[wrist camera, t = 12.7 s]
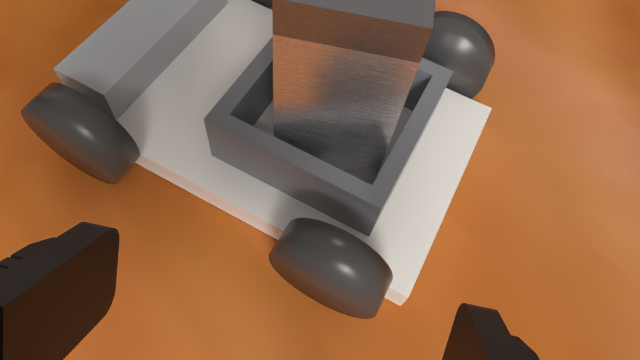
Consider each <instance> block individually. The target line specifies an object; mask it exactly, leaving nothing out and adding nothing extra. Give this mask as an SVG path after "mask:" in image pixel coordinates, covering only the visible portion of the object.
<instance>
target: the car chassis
mask: <svg viewBox="0 0 640 360" xmlns="http://www.w3.org/2000/svg"><path fill="white" fill-rule="evenodd" d="M271 7H272V0H130V1H128V2H127V3H126V4H125V5H124V6H123V7H122V8H121V9H119V10H118V11H117V12H116V13H115V14H114V15H113V16H112V17H110V18H109V19H108V20H107V21H106V22H105V23H104V24H103V25H101V26H100V27H99V28H98V29H97V30H96V31H95V32H94V33H92V34H91V35H90V36H89V37H88V38H87V39H86V40H85V41H83V42H82V43H81V44H80V45H79V46H78V47H77V48H76V49H74V50H73V51H72V52H71V53H70V54H69V55H68V56H67V57H65V58H64V59H63V60H62V61H61V62H60V63H59V64H58V65H56V66H55V67H54V68H53V69H54V71H55V73H56V74H57V76H58V78H59V79H60V81H61V83H62V84H60V83H51V84H49V85H48V86H47V87H46V88H45V89H44V90H42V91H41V92H40V93H39V94H38V95H37V96H36V97H35V98H34V99H33V100H31V101H30V102H29V103H28V104H27V105H26V106H25V107H24V108H23V109H22V110H21V114H22V116H23V118H24V120H25V121H26V123H27V124H28V125H29V127H30V128H31V129H32V130H33V131H34V132H35V133H36V134H37V135H38V136H39V137H40V138H41V139H42V140H43V141H44V142H45V143H46V144H47V145H48V146H49V147H50V148H52V149H53V150H54V151H55V152H56V153H58V154H59V155H60V156H62V157H63V158H64V159H66V160H67V161H68V162H70V163H71V164H73V165H74V166H75V167H77V168H78V169H80V170H82V171H83V172H85V173H87V174H88V175H90V176H92V177H94V178H96V179H98V180H100V181H103V182H106V183H109V184H116V183H117V182H118V181H119V180H120V179H121V178H122V177H123V175H124V174H125V173H126V172H127V171H128V170H129V169H130V167H131V166H132V165H133V164H134V163H136V164H138V165H140V166H142V167H143V168H145V169H147V170H149V171H151V172H153V173H155V174H156V175H158V176H160V177H162V178H164V179H166V180H168V181H169V182H171V183H173V184H175V185H177V186H179V187H180V188H182V189H184V190H186V191H188V192H190V193H192V194H193V195H195V196H197V197H199V198H201V199H203V200H205V201H206V202H208V203H210V204H212V205H214V206H216V207H218V208H219V209H221V210H223V211H225V212H227V213H229V214H230V215H232V216H234V217H236V218H238V219H240V220H242V221H243V222H245V223H247V224H249V225H251V226H253V227H255V228H256V229H258V230H260V231H262V232H264V233H266V234H268V235H269V236H271V237H273V238H275V239H277V240H278V241H277V243H276V244H275V246H274V247H273V249H272V251H271V252H270V254H269V261H270V263H271V264H272V266H273V267H274V269H275V270H276V271H277V272H278V273H279V274H280V275H281V276H282V277H283V278H284V279H285V280H286V281H287V282H288V283H290V284H291V285H292V286H294V287H295V288H296V289H298V290H299V291H301V292H302V293H304V294H305V295H307V296H308V297H310V298H312V299H313V300H315V301H317V302H319V303H321V304H322V305H324V306H326V307H329V308H331V309H333V310H335V311H338V312H340V313H343V314H346V315H349V316H352V317H357V318H363V319H369V318H373V317H375V316H376V314H377V312H378V310H379V307H380V305H381V303H382V301H383V299H384V298H386V299H388V300H390V301H392V302H394V303H395V304H397V305H399V306H401V305H402V304H403V303H404V302H405V301H406V300H407V299H408V297H409V295H410V293H411V290H412V288H413V286H414V284H415V281H416V279H417V277H418V275H419V272H420V270H421V268H422V266H423V263H424V261H425V259H426V256H427V254H428V252H429V250H430V247H431V245H432V243H433V241H434V238H435V236H436V234H437V231H438V229H439V227H440V225H441V222H442V220H443V218H444V216H445V213H446V211H447V209H448V207H449V204H450V202H451V200H452V197H453V195H454V193H455V191H456V188H457V186H458V184H459V182H460V179H461V177H462V175H463V173H464V170H465V168H466V166H467V163H468V161H469V159H470V157H471V154H472V152H473V150H474V148H475V145H476V143H477V141H478V138H479V136H480V134H481V132H482V129H483V127H484V125H485V123H486V120H487V118H488V116H489V114H490V111H491V109H492V108H490V107H488V106H485V105H483V104H481V103H479V102H476V101H474V100H472V99H471V98H473V97H474V96H475V95H477V94H478V93H479V92H480V90H481V89H482V87H483V85H484V83H485V81H486V79H487V77H488V74H489V72H490V70H491V68H492V66H493V63H494V60H495V49H494V45H493V42H492V40H491V38H490V36H489V34H488V33H487V32H486V30H485V29H484V28H483V27H482V26H481V25H480V24H478V23H477V22H476V21H474V20H473V19H471V18H469V17H467V16H465V15H462V14H459V13H455V12H449V11H438V12H434V22H433V30H432V32H431V35H430V38H429V40H428V43H427V45H426V48H425V51H424V53H423V56H422V59H421V61H420V64H419V67H418V69H417V72H416V75H415V77H414V80H413V82H412V85H411V88H410V90H409V93H408V96H407V98H406V101H405V104H404V106H403V109H402V111H401V114H400V117H399V119H398V122H397V125H396V127H395V130H394V133H393V135H392V138H391V140H390V143H389V146H388V148H387V151H386V154H385V156H384V159H383V162H382V164H381V167H380V169H379V172H378V175H377V177H376V179H375V181H374V183H373V184H371V183H366V182H364V181H362V180H360V179H358V178H356V177H354V176H352V175H350V174H348V173H346V172H344V171H342V170H340V169H338V168H336V167H334V166H332V165H330V164H328V163H326V162H324V161H322V160H320V159H318V158H316V157H314V156H312V155H310V154H308V153H306V152H304V151H302V150H300V149H298V148H296V147H294V146H292V145H290V144H288V143H286V142H284V141H282V140H280V139H278V138H276V137H274V119H273V21H272V10H271V9H270V8H271Z"/></svg>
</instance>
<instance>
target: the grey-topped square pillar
mask: <svg viewBox="0 0 640 360" xmlns="http://www.w3.org/2000/svg"><path fill="white" fill-rule="evenodd" d="M434 10H435V0H272V21H273V119H274V137H276V138H278V139H280V140H282V141H284V142H286V143H288V144H290V145H292V146H294V147H296V148H298V149H300V150H302V151H304V152H306V153H308V154H310V155H312V156H314V157H316V158H318V159H320V160H322V161H324V162H326V163H328V164H330V165H332V166H334V167H336V168H338V169H340V170H342V171H344V172H346V173H348V174H350V175H352V176H354V177H356V178H358V179H360V180H362V181H364V182H366V183H371V184H373V183H374V181H375V179H376V177H377V175H378V172H379V169H380V167H381V164H382V162H383V159H384V156H385V154H386V151H387V148H388V146H389V143H390V140H391V138H392V135H393V133H394V130H395V127H396V125H397V122H398V119H399V117H400V114H401V111H402V109H403V106H404V104H405V101H406V98H407V96H408V93H409V90H410V88H411V85H412V82H413V80H414V77H415V75H416V72H417V69H418V67H419V64H420V61H421V59H422V56H423V53H424V51H425V48H426V45H427V43H428V40H429V38H430V35H431V32H432V30H433V22H434Z"/></svg>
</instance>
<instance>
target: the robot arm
mask: <svg viewBox="0 0 640 360" xmlns="http://www.w3.org/2000/svg"><path fill="white" fill-rule="evenodd" d="M118 251H119V233H118V231H117V229H115V228H110V227H105V226H101V225H96V224H91V223H86V222H81V223H79V224H78V225H76V226H74V227H73V228H71V229H70V230H68V231H66V232H65V233H63V234H62V235H60V236H58V237H57V238H55V237H53V238H49V239H46V240H43V241H39V242H36V243H33V244H29V245H28V246H26V247H24V248H22V249H21V250H19V251H17V252H16V253H14V254H12V255H11V257H10V258H9V257H7V258H5V259H4V260H2V261H0V360H63V359H64V358H65V357H66V356H67V355H68V354H69V353H70V352H71V351H72V350H73V349H74V348H75V347H76V346H77V345H78V343H79V342H80V341H81V340H82V339H83V338H84V337H85V336H86V335H87V334H88V333H89V332H90V331H91V330H92V329H93V328H94V327H95V326H96V325H97V324H98V323H99V322H100V320H101V319H102V318H103V317H104V316H105V315H106V313H107V312H108V310H109V308H110V306H111V304H112V301H113V298H114V294H115V288H116V275H117V263H118ZM442 360H540V359H539V358H538V356H537V354H536V353H535V352H534V351H533V350H532V349H531V348H530V347H528V346H527V345H526V344H525V343H524V342H523V341H522V340H521V339H520V338H519V337H516V336H512V335H510V333H509V331H508V329H507V327H506V325H505V324H504V322H503V320H502V318H501V316H500V314H499V313H498V311H497V310H494V309H490V308H485V307H480V306H475V305H471V304H466V303H462V304H461V305H460V307H459V308H458V310H457V313H456V316H455V320H454V323H453V326H452V329H451V333H450V336H449V339H448V342H447V346H446V349H445V352H444V355H443V359H442Z"/></svg>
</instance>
